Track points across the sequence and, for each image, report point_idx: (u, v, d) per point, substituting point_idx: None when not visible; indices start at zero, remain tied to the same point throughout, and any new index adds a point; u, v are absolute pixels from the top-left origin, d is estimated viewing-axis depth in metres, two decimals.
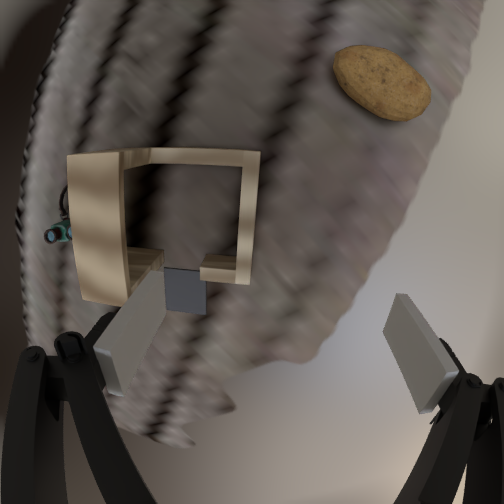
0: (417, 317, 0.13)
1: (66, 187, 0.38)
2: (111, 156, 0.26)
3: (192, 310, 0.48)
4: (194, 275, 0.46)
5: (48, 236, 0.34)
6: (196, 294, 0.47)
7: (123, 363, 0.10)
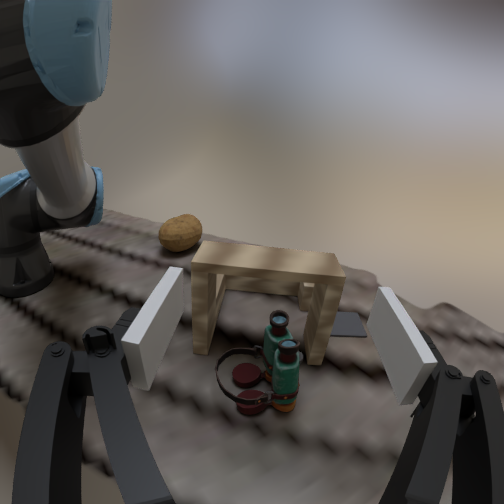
0: (398, 309, 0.13)
1: (225, 391, 0.29)
2: (205, 243, 0.39)
3: (357, 319, 0.49)
4: None
5: None
6: (340, 316, 0.50)
7: (149, 357, 0.11)
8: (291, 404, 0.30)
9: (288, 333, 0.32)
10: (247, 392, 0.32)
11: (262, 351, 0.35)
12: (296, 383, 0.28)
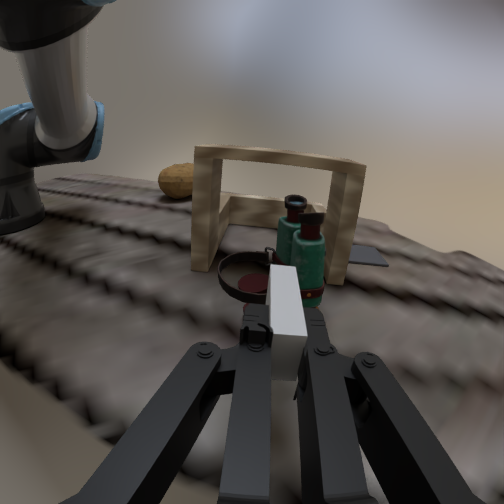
0: (290, 285, 0.15)
1: (230, 289, 0.24)
2: (210, 144, 0.34)
3: (375, 252, 0.44)
4: None
5: None
6: (356, 248, 0.45)
7: None
8: None
9: None
10: None
11: (275, 254, 0.30)
12: (322, 273, 0.23)
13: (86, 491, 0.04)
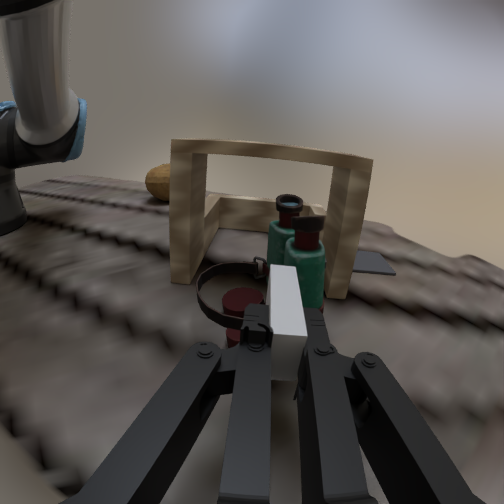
0: (290, 285, 0.15)
1: None
2: (192, 138, 0.30)
3: (380, 258, 0.40)
4: None
5: None
6: (359, 254, 0.40)
7: None
8: None
9: None
10: None
11: (265, 265, 0.25)
12: (321, 291, 0.19)
13: (86, 491, 0.04)
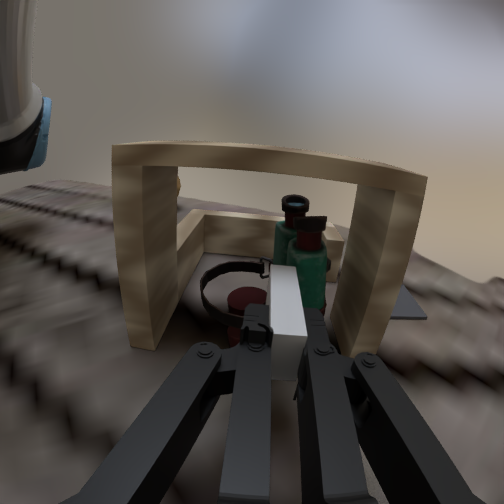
0: (290, 285, 0.15)
1: None
2: None
3: (406, 294, 0.30)
4: None
5: None
6: None
7: None
8: None
9: None
10: None
11: None
12: (322, 292, 0.18)
13: (86, 491, 0.04)
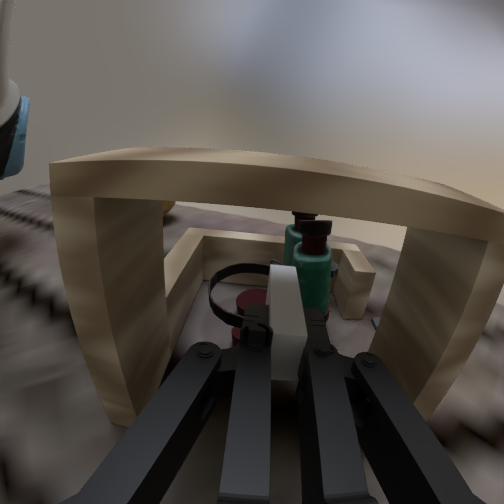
0: (290, 285, 0.15)
1: None
2: (131, 148, 0.14)
3: None
4: None
5: None
6: None
7: None
8: None
9: None
10: None
11: None
12: (325, 297, 0.18)
13: (86, 491, 0.04)
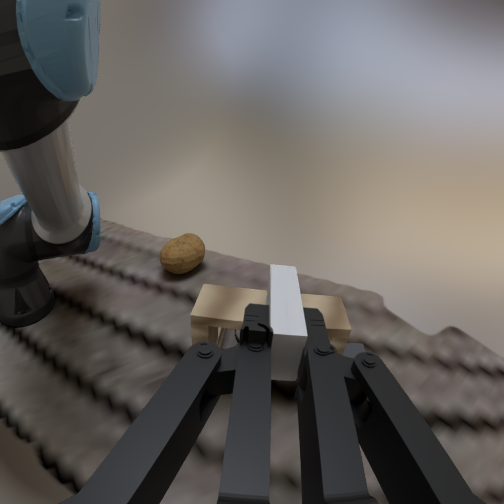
0: (290, 285, 0.15)
1: None
2: (205, 287, 0.37)
3: (362, 351, 0.47)
4: None
5: None
6: None
7: None
8: None
9: None
10: None
11: None
12: None
13: (86, 491, 0.04)
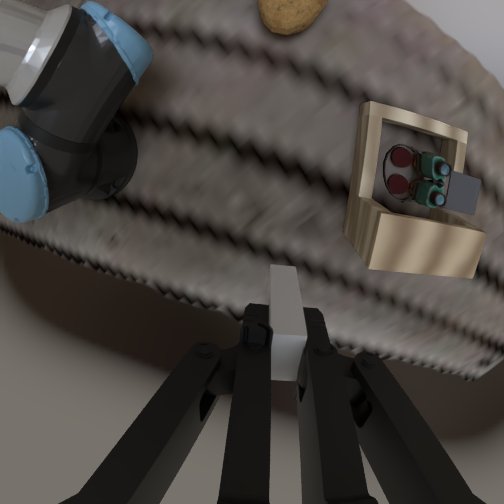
0: (290, 285, 0.15)
1: (386, 185, 0.40)
2: (383, 220, 0.31)
3: (477, 191, 0.41)
4: (453, 181, 0.41)
5: (439, 203, 0.34)
6: (466, 183, 0.41)
7: None
8: None
9: None
10: (398, 177, 0.41)
11: (421, 155, 0.37)
12: None
13: (86, 491, 0.04)
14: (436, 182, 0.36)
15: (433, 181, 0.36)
